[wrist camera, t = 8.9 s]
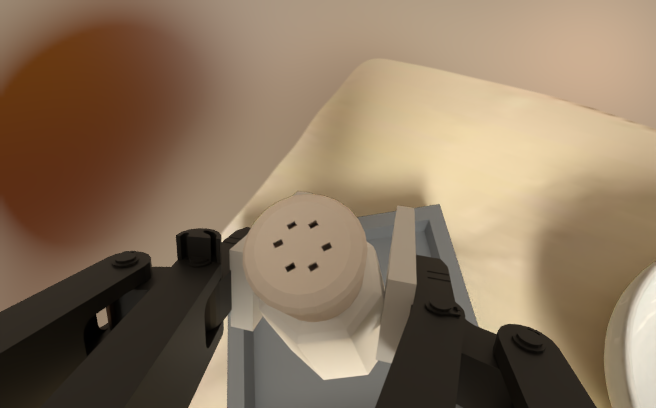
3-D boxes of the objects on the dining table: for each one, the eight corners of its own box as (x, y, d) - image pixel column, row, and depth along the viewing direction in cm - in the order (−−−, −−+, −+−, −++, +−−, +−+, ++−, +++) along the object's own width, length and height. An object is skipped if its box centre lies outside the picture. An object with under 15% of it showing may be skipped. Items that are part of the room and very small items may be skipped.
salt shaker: (416, 344, 16) (489, 292, 7) (317, 406, 16) (230, 451, 6) (358, 250, 19) (348, 111, 9) (269, 300, 18) (152, 207, 8)
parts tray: (432, 221, 32) (439, 204, 29) (503, 459, 23) (524, 471, 20) (242, 251, 32) (228, 237, 29) (244, 494, 24) (226, 511, 21)
